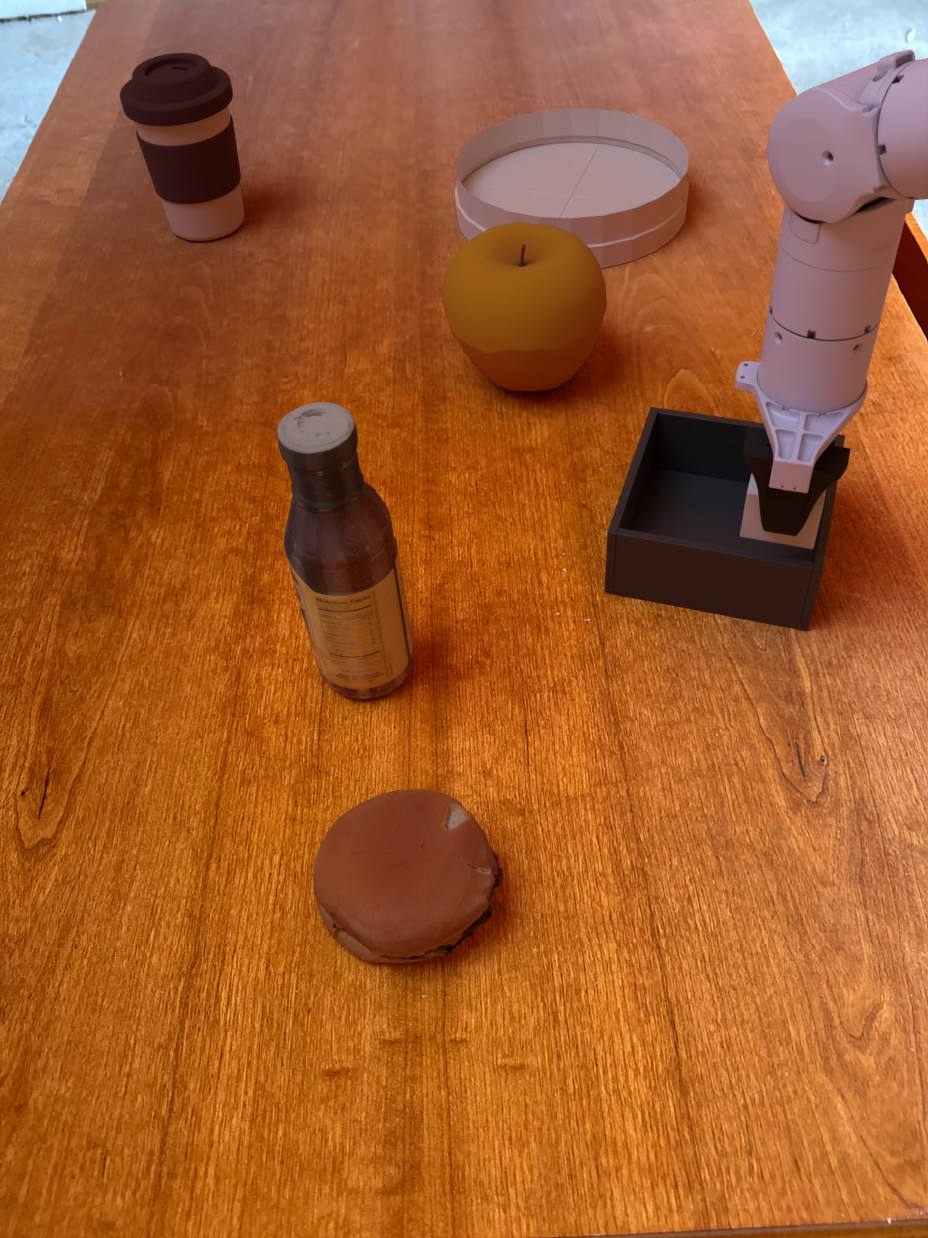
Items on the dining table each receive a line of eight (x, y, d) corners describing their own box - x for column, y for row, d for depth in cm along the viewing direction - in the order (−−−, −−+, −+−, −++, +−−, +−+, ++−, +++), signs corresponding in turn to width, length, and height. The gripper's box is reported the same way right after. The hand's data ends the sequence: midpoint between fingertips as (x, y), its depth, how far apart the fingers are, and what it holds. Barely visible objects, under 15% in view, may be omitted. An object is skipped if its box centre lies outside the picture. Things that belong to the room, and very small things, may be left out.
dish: (423, 254, 106) (418, 203, 102) (495, 146, 119) (493, 98, 116) (659, 284, 100) (663, 232, 96) (707, 167, 114) (712, 117, 110)
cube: (820, 506, 71) (831, 461, 69) (813, 549, 69) (823, 505, 66) (749, 494, 72) (756, 450, 70) (739, 537, 70) (746, 492, 67)
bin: (830, 496, 81) (845, 434, 76) (808, 631, 72) (823, 570, 68) (646, 466, 84) (650, 406, 80) (604, 592, 76) (607, 532, 72)
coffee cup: (185, 261, 107) (143, 101, 96) (141, 222, 113) (95, 66, 102) (277, 225, 111) (246, 67, 100) (229, 189, 117) (194, 35, 106)
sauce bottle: (344, 621, 75) (293, 370, 60) (431, 644, 73) (400, 391, 59) (299, 695, 71) (232, 446, 56) (390, 721, 69) (346, 470, 55)
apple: (506, 441, 87) (500, 310, 78) (416, 362, 94) (403, 235, 86) (638, 378, 91) (647, 248, 83) (542, 307, 99) (541, 181, 90)
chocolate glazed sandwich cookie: (284, 920, 61) (269, 876, 57) (384, 793, 66) (376, 745, 62) (439, 1013, 57) (433, 971, 53) (532, 870, 62) (532, 824, 59)
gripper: (766, 232, 65) (738, 422, 75) (724, 380, 56) (698, 574, 66) (895, 245, 63) (849, 438, 73) (873, 401, 54) (823, 597, 64)
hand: (785, 504), depth 70 cm, fingers closed on cube, 4 cm apart
